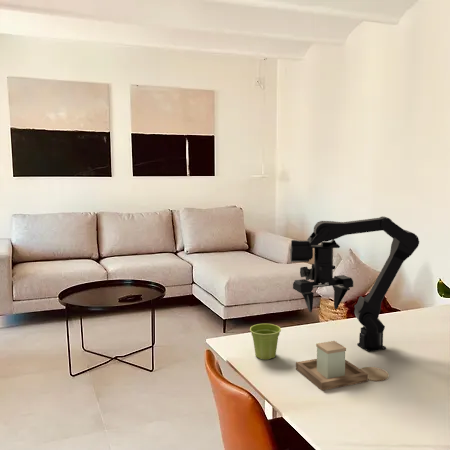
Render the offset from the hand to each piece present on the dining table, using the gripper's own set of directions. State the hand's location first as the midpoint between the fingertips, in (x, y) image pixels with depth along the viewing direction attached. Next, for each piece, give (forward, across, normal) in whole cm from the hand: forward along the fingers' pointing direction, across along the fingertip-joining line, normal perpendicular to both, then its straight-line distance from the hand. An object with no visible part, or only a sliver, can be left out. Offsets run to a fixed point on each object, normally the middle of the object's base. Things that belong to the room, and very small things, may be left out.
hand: (323, 310), depth 152 cm
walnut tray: (+12, +9, +19) cm, 24 cm away
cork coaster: (+12, -2, +23) cm, 26 cm away
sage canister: (+11, +9, +19) cm, 24 cm away
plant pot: (+12, +20, 0) cm, 23 cm away
